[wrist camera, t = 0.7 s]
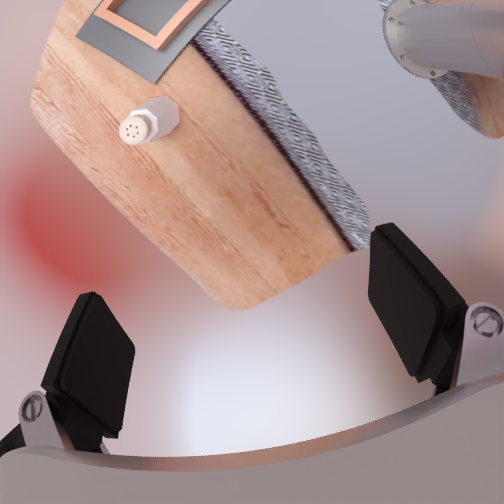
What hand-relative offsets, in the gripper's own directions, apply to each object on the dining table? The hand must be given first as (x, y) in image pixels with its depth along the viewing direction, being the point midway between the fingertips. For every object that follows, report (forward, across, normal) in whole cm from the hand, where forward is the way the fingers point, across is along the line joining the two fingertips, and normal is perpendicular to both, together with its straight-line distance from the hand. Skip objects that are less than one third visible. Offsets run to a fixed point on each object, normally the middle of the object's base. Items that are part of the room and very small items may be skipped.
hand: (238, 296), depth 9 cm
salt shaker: (+30, +7, -5) cm, 31 cm away
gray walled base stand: (+29, +4, -20) cm, 36 cm away
